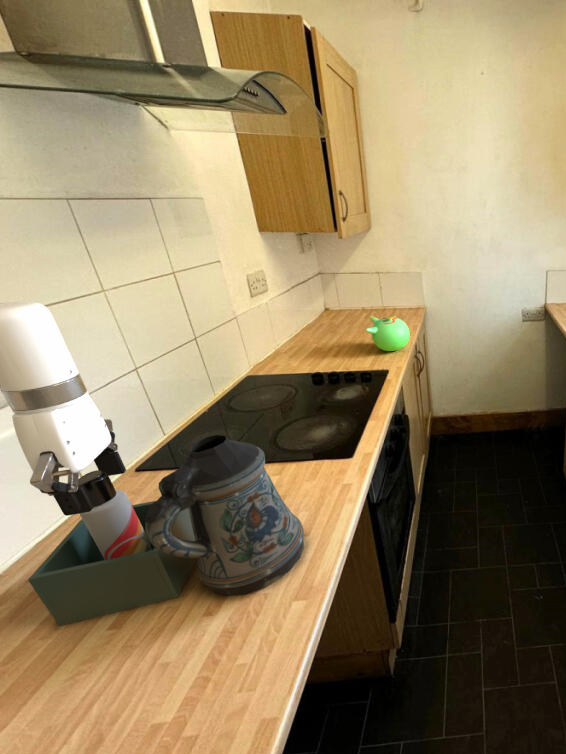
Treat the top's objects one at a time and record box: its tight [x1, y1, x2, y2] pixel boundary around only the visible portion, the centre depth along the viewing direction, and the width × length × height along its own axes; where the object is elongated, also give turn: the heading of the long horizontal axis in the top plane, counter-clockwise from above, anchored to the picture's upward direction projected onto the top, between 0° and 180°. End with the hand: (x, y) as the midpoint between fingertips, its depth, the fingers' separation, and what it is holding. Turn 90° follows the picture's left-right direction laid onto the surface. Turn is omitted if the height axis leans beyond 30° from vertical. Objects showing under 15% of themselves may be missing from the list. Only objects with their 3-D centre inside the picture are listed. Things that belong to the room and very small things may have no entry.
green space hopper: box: [365, 315, 411, 352], centre depth 177 cm, size 18×17×15 cm
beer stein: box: [145, 434, 305, 597], centre depth 68 cm, size 16×19×25 cm
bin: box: [27, 500, 197, 627], centre depth 70 cm, size 16×15×10 cm
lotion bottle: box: [78, 469, 153, 560], centre depth 68 cm, size 6×6×20 cm
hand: (98, 492), depth 65 cm, fingers open, 9 cm apart
